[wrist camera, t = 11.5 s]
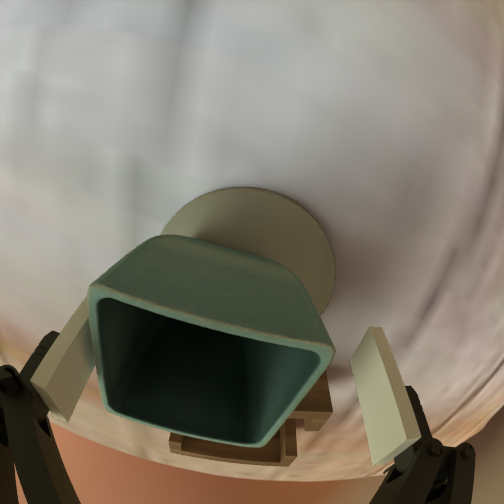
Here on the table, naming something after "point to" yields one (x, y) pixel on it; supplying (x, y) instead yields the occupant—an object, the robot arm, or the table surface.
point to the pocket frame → (280, 445)
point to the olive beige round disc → (263, 233)
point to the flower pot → (205, 340)
